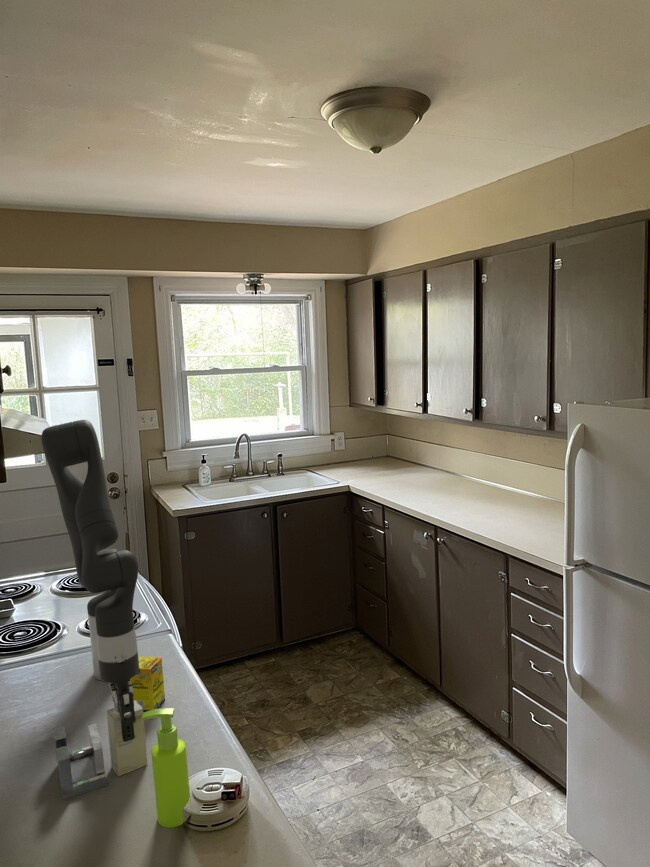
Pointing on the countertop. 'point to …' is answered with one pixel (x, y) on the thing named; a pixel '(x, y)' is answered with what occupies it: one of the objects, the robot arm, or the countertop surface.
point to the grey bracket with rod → (75, 769)
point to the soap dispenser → (169, 770)
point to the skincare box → (129, 752)
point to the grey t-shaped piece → (92, 751)
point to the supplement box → (149, 683)
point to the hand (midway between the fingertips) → (125, 729)
